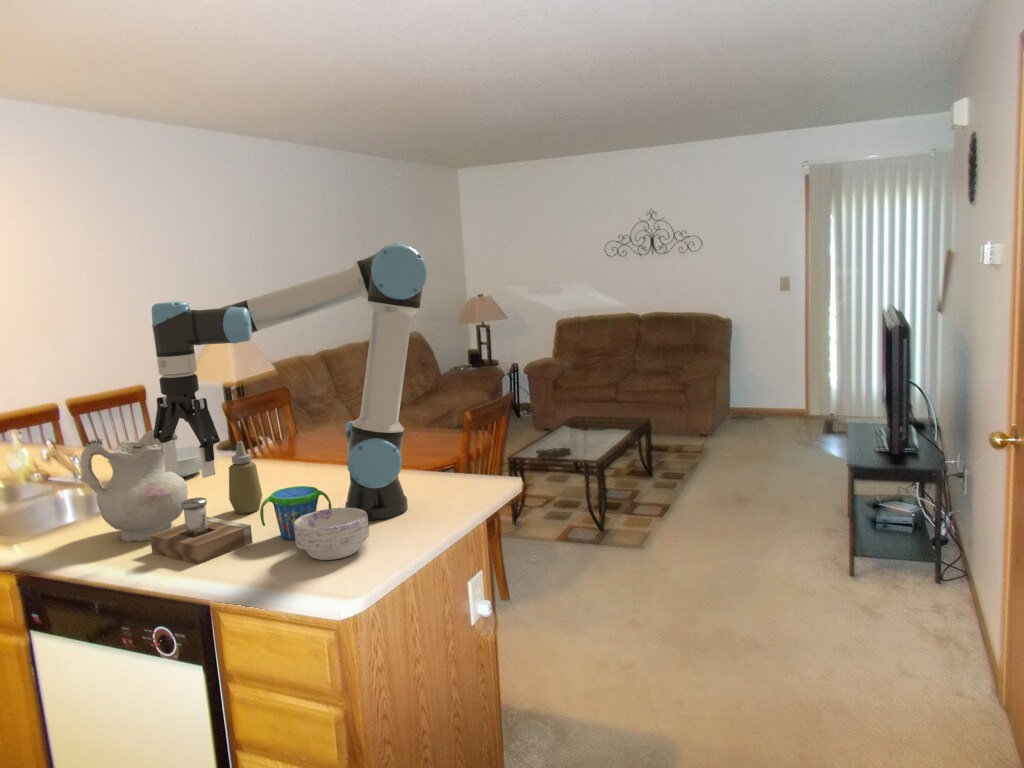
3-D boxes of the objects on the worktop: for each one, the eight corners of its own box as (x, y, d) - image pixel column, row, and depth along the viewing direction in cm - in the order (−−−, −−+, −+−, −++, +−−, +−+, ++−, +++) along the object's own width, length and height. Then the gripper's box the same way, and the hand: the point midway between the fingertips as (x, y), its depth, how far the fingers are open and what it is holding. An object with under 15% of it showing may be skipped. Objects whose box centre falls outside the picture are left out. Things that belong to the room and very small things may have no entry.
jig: (252, 542, 177) (250, 525, 176) (198, 564, 165) (196, 545, 164) (206, 533, 185) (204, 516, 184) (152, 553, 173) (149, 535, 173)
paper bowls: (325, 537, 177) (322, 503, 176) (384, 543, 171) (381, 508, 170) (281, 562, 163) (277, 525, 162) (343, 569, 158) (340, 531, 156)
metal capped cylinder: (217, 547, 175) (211, 498, 173) (196, 554, 171) (190, 505, 169) (201, 543, 178) (196, 496, 176) (181, 551, 173) (175, 503, 172)
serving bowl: (151, 470, 251) (148, 449, 250) (219, 465, 253) (217, 444, 252) (127, 488, 231) (124, 465, 230) (201, 482, 233) (198, 459, 232)
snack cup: (333, 523, 187) (329, 482, 185) (333, 538, 177) (329, 494, 175) (264, 532, 184) (260, 489, 182) (261, 547, 173) (256, 502, 172)
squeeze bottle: (254, 515, 196) (246, 445, 194) (224, 515, 198) (216, 445, 195) (269, 505, 204) (262, 437, 202) (240, 506, 206) (233, 438, 203)
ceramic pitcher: (125, 560, 173) (117, 450, 169) (71, 542, 182) (62, 437, 178) (206, 529, 192) (201, 429, 187) (154, 515, 201) (147, 419, 196)
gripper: (128, 375, 172) (140, 472, 175) (199, 379, 159) (211, 483, 162) (159, 370, 178) (170, 464, 181) (230, 373, 165) (241, 474, 168)
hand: (190, 473), depth 172 cm, fingers open, 12 cm apart
